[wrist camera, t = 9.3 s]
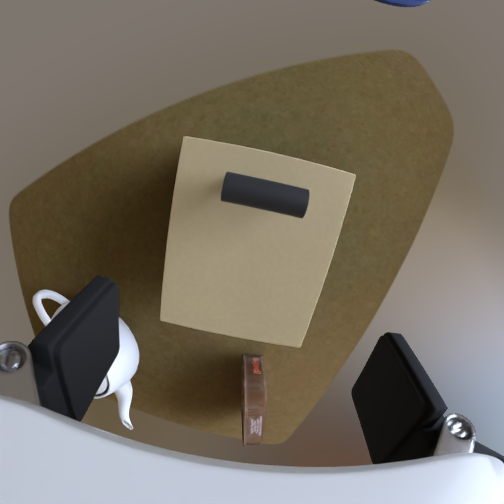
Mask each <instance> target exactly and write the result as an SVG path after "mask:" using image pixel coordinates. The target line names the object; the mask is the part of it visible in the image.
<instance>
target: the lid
mask: <svg viewBox="0 0 504 504" xmlns="http://www.w3.org/2000/svg"><path fill="white" fill-rule="evenodd" d="M355 177H356V175H355V174H352V173H349V172H345V171H342V170H338V169H335V168H331V167H328V166H324V165H320V164H317V163H313V162H309V161H305V160H301V159H297V158H293V157H289V156H285V155H281V154H276V153H272V152H267V151H263V150H258V149H254V148H249V147H244V146H239V145H234V144H228V143H223V142H217V141H212V140H206V139H200V138H194V137H187V136H184V137H183V141H182V146H181V152H180V157H179V163H178V169H177V175H176V181H175V187H174V193H173V200H172V207H171V214H170V221H169V229H168V237H167V246H166V255H165V264H164V274H163V286H162V298H161V311H160V321H164V322H168V323H172V324H177V325H181V326H185V327H190V328H194V329H199V330H203V331H208V332H213V333H218V334H223V335H228V336H233V337H238V338H244V339H249V340H255V341H260V342H266V343H272V344H279V345H285V346H292V347H299V348H300V347H301V344H302V341H303V339H304V336H305V334H306V331H307V328H308V326H309V323H310V320H311V317H312V315H313V312H314V309H315V306H316V304H317V301H318V298H319V295H320V292H321V289H322V286H323V283H324V280H325V277H326V274H327V271H328V268H329V265H330V262H331V259H332V256H333V253H334V250H335V247H336V243H337V240H338V237H339V234H340V230H341V227H342V224H343V220H344V217H345V213H346V210H347V206H348V203H349V199H350V196H351V192H352V188H353V184H354V181H355Z"/></svg>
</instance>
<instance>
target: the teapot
mask: <svg viewBox="0 0 504 504" xmlns="http://www.w3.org/2000/svg"><path fill="white" fill-rule="evenodd" d="M44 298H49V299H52V300H54V301H56V302H58V303H59V304H61V305H62V306H60V307H59V308H58V309H57V310H56V312H55V313H54V315H53V316H52V318H51V319H50V318H49V316H48V314H47V313H46V311H45V309H44V308H43V305H42V302H41V299H44ZM32 301H33V306H34V308H35V310H36V312H37V314H38V316H39V317H40V319H41V321H42V322H43V324H44V325H45V326H46V325H47V324H48V323H49V322H50V321H51V320H52V319H53V318H54V317H55V316H56V315H57V314H58V313H59V312H60V311H61V310H62V309H63V308H64V307H65V306H66V305H67V304H68V303H69V302H70V301H69V300H68V299H66V298H65V297H63V296H62V295H60V294H59V293H57V292H54V291H51V290H40V291H38V292H37V293H36V294H35V295H34V296H33V300H32ZM119 339H120V349H119V353H118V355H117V357H116V359H115V361H114V362H113V364H112V366H111V368H110V369H109V371H108V373H107V375H106V376H105V378H104V380H103V382H102V384H101V385H100V387H99V389H98V391H97V393H96V395H95V396H94V398H102V397H105V396H108V395H109V394H111V393H113V392H115V394H116V397H117V400H118V411H119V416H120V419H121V421H122V423H123V424H124V425H125V426H126V427H127V428H129V429H131V430H132V429H133V427H132V424H131V422H130V419H129V408H130V404H131V399H132V385H131V382H130V379H131V378H132V377H133V375H134V374H135V372H136V370H137V367H138V364H139V350H138V345H137V343H136V340H135V338H134V336H133V334H132V332H131V331H130V329H129V327H128V326H127V325H126V324H125V323H124V321H123V320H122V319H121V318H120V317H119Z"/></svg>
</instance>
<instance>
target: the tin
mask: <svg viewBox="0 0 504 504" xmlns="http://www.w3.org/2000/svg"><path fill="white" fill-rule="evenodd" d="M266 398H267V392H266V377H265V373H264V369H263V356H261V355H245V354H243V355H242V390H241V403H242V405H241V407H242V436H243V446H245V445H260V444H261V443H262V441H263V434H264V426H265V415H266Z"/></svg>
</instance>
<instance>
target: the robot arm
mask: <svg viewBox="0 0 504 504" xmlns="http://www.w3.org/2000/svg"><path fill="white" fill-rule="evenodd" d="M119 349H120V339H119V287H118V285H117V284H115V282H114V280H113V279H111V278H107V277H103V276H100V275H98V276H96V277H95V278H94V279H93V280H92V281H91V282H90V283H89V284H88V285H87V286H86V287H85V288H84V289H83V290H82V291H80V292H79V293H78V294H77V295H76V296H75V297H74V298H73V299H72V300H71V301H70V302H69V303H68V304H67V305H66V306H65V307H64V308H63V309H62V310H61V311H60V312H59V313H58V314H57V315H56V316H55V317H54V318H53V319H52V320H51V321H50V322H49V323H48V324H47V325H46V326H45V327H44V328H43V330H42V331H41V332H40V333H39V334H38V335H37V336H36V337H35V338H34V339H33V340H32V342H31V343H30V344H29V345H28V347H27V346H26V345H24V344H23V343H20V342H17V341H6V342H2V343H0V504H504V456H502V455H500V454H499V453H497V452H495V451H493V450H491V449H489V448H487V447H485V446H484V445H482V444H480V443H478V442H476V441H475V436H476V431H475V429H474V426H473V425H472V423H471V422H470V421H469V420H468V419H467V418H466V417H464V416H463V415H460V414H456V413H452V414H449V415H448V416H446V417H445V418H444V416H443V414H444V413H445V411H446V410H447V406H446V405H445V403H444V401H443V399H442V398H441V396H440V394H439V393H438V391H437V389H436V388H435V386H434V384H433V383H432V381H431V379H430V378H429V376H428V375H427V373H426V371H425V370H424V368H423V367H422V365H421V363H420V362H419V360H418V359H417V357H416V356H415V354H414V353H413V351H412V349H411V348H410V347H409V345H408V343H407V342H406V340H405V339H404V337H403V336H402V335H401V334H398V333H390V332H387V333H385V334H384V336H381V337H380V338H379V340H378V342H377V344H376V346H375V348H374V350H373V352H372V354H371V355H370V357H369V359H368V361H367V363H366V365H365V367H364V369H363V370H362V372H361V374H360V376H359V377H358V379H357V381H356V383H355V384H354V386H353V388H352V399H353V401H354V404H355V408H356V411H357V414H358V417H359V420H360V424H361V427H362V430H363V433H364V436H365V440H366V443H367V446H368V450H369V453H370V456H371V460H372V463H373V465H362V466H344V467H289V466H272V465H258V464H249V463H240V462H233V461H225V460H219V459H213V458H206V457H201V456H196V455H190V454H186V453H181V452H176V451H172V450H168V449H164V448H160V447H156V446H152V445H148V444H145V443H141V442H138V441H135V440H131V439H128V438H125V437H122V436H118V435H115V434H112V433H109V432H106V431H103V430H101V429H98V428H95V427H92V426H89V425H87V424H84V423H82V422H80V421H81V420H82V419H83V417H84V415H85V413H86V411H87V409H88V407H89V406H90V404H91V402H92V400H93V398H94V396H95V395H96V393H97V391H98V389H99V387H100V385H101V384H102V382H103V380H104V378H105V376H106V375H107V373H108V371H109V369H110V368H111V366H112V364H113V362H114V361H115V359H116V357H117V355H118V353H119Z"/></svg>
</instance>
